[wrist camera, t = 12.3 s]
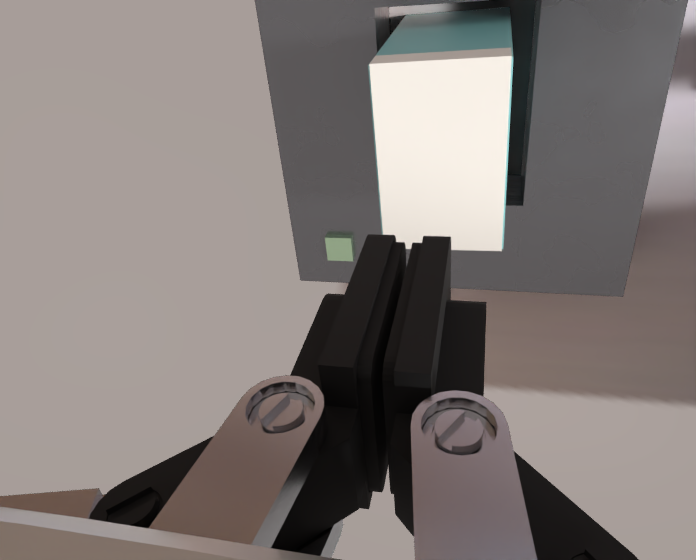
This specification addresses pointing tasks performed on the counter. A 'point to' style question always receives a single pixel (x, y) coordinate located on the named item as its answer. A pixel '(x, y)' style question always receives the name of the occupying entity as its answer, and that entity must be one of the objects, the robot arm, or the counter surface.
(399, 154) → the plug
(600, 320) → the counter surface
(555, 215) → the port
